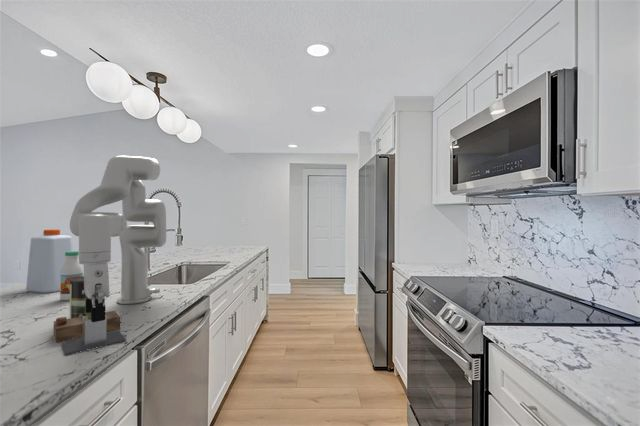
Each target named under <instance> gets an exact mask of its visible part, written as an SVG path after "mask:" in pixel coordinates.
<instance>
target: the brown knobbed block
mask: <svg viewBox="0 0 640 426" xmlns="http://www.w3.org/2000/svg"><path fill="white" fill-rule="evenodd" d="M105 316H106V317H107V322H106V333H109V332H114V331H119V330H121V316H120V314H118V313H117V311H116V310H112V311H110V310H109V311H105ZM108 331H109V332H108ZM82 334H83V316H82V317H76V318H70V317H69V318H67V317H66V316H60V317H57V318H56V319H55V320H54V321H53V337H55V338H54V340H55V343H60V342H59V341H61V342H64V341H63V340H66V341H69V340H68V339H71V340H73V339H72V338H75V339H78V338H77V337H80V338H82Z"/></svg>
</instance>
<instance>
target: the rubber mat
mask: <svg viewBox="0 0 640 426" xmlns="http://www.w3.org/2000/svg"><path fill="white" fill-rule="evenodd" d="M120 342H121V343H125V342H127V339H126V337H125V336H124V335H123V333H122V332H120V330H114V331H109V332H106V341H105V342H101V343H96V344H92V345H88V346H85V345H84V343H83V341H82V338H76V339H71V340H67V341H62V342H61V347H62V350H63V353H64V356H65V357H66V356H70V355H74V354H77V353H76V352H79V353H81V352H80V351H83V352H85V351H84V350H87V349H91V350H93V349H92V348H96V347H100V346H104V347H106V346H105V345H108V346H112V345H111V344H113V345H116V344H115V343H117V344H120ZM100 348H101V347H100ZM96 349H97V348H96ZM87 351H88V350H87ZM73 353H74V354H73Z"/></svg>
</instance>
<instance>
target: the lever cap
mask: <svg viewBox="0 0 640 426" xmlns="http://www.w3.org/2000/svg"><path fill="white" fill-rule="evenodd" d="M106 322H107V317H106V316H105V320H103V321H98V322H92V321H91V314H86V316H83V334H82V337H81V339H82V341H83V343H84V345H85V346H88V345H92V344H96V343H101V342H105V341H106V333H107V332H106Z"/></svg>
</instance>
